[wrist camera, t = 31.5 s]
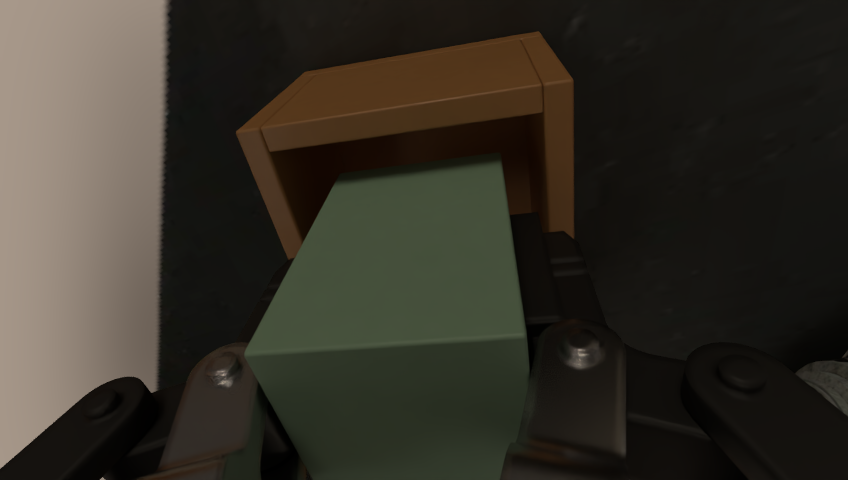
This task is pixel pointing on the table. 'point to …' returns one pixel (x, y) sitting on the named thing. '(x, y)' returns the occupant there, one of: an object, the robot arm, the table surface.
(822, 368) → the camera
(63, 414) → the robot arm
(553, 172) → the case
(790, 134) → the table surface
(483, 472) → the block
